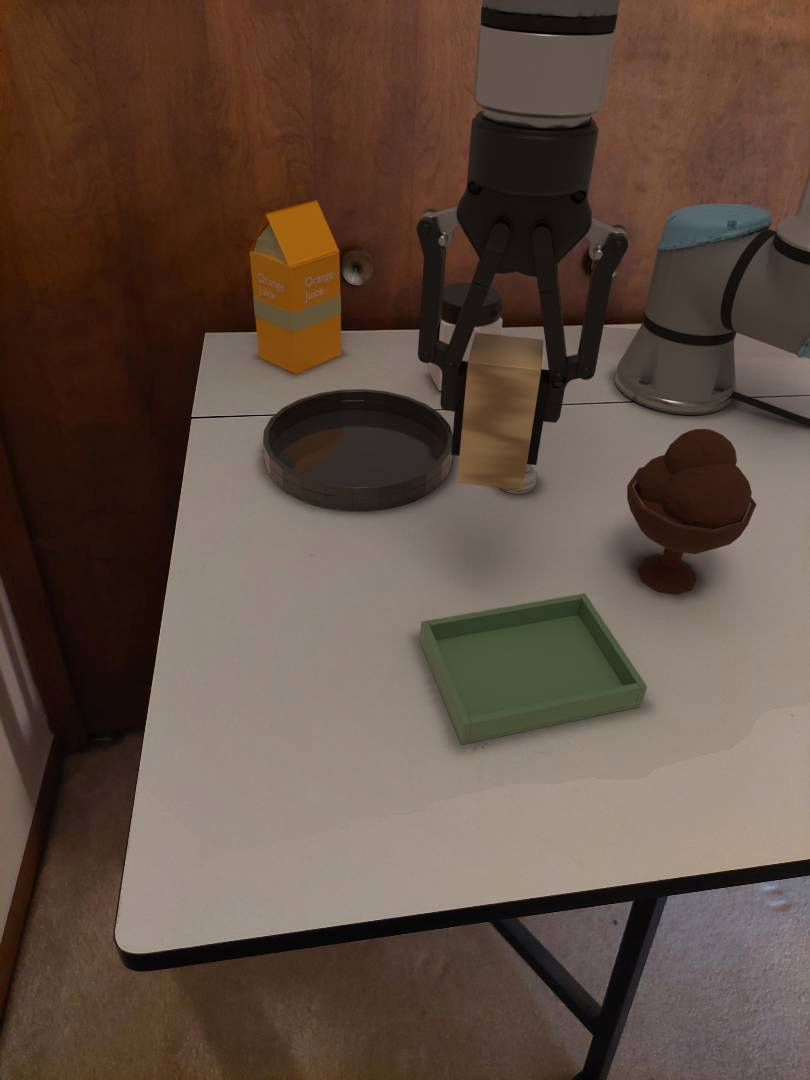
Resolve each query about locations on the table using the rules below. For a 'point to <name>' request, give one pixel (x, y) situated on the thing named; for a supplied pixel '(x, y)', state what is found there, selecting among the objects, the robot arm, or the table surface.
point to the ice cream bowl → (689, 505)
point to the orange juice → (296, 288)
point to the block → (499, 410)
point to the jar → (451, 310)
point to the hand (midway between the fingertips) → (494, 450)
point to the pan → (358, 449)
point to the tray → (528, 667)
